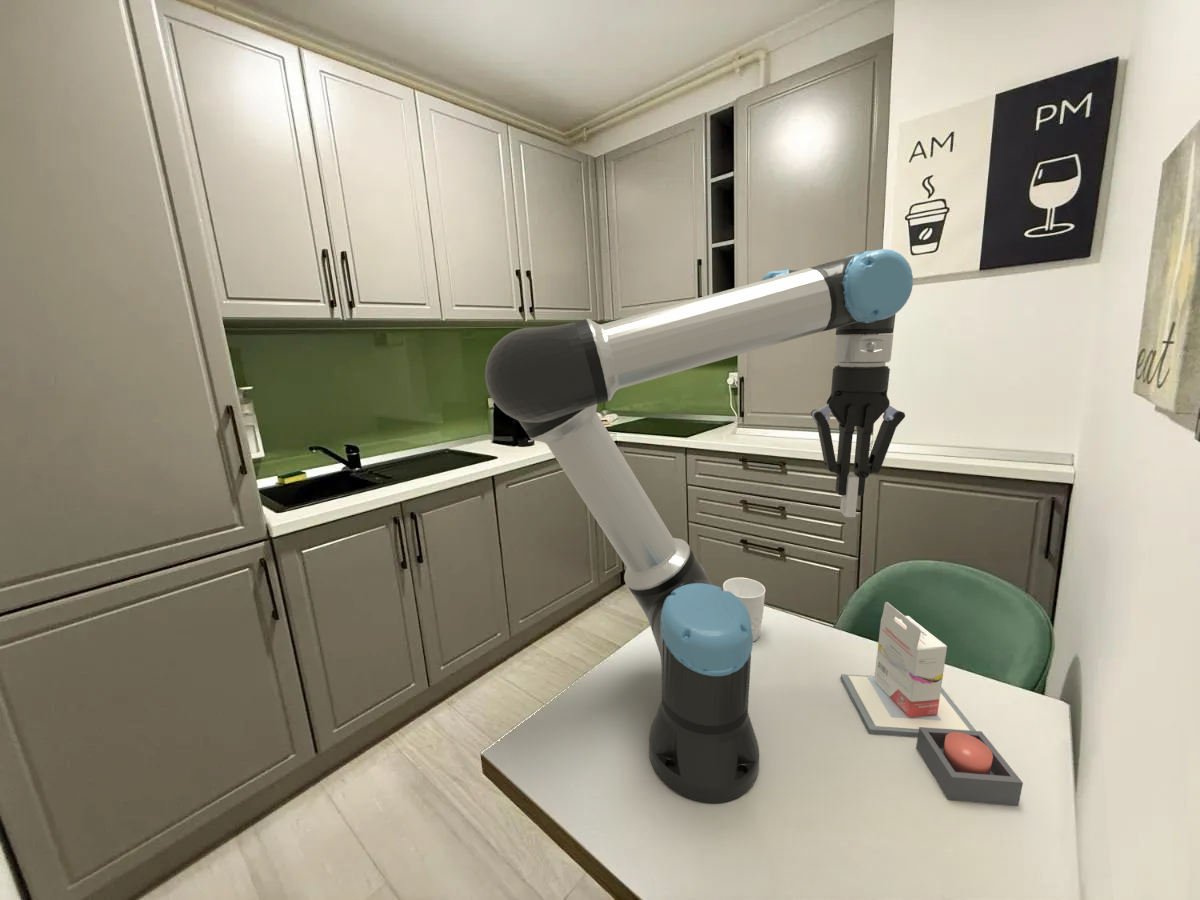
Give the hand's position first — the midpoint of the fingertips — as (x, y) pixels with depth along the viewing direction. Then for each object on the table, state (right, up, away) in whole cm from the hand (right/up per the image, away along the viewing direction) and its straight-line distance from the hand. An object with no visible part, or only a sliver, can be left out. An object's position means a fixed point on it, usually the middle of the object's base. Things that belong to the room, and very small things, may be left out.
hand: (847, 514), depth 78 cm
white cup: (-11, -26, +19) cm, 34 cm away
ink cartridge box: (+9, -29, -1) cm, 30 cm away
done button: (+9, -31, -14) cm, 35 cm away
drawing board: (+8, -30, -1) cm, 31 cm away
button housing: (+9, -33, -13) cm, 36 cm away
